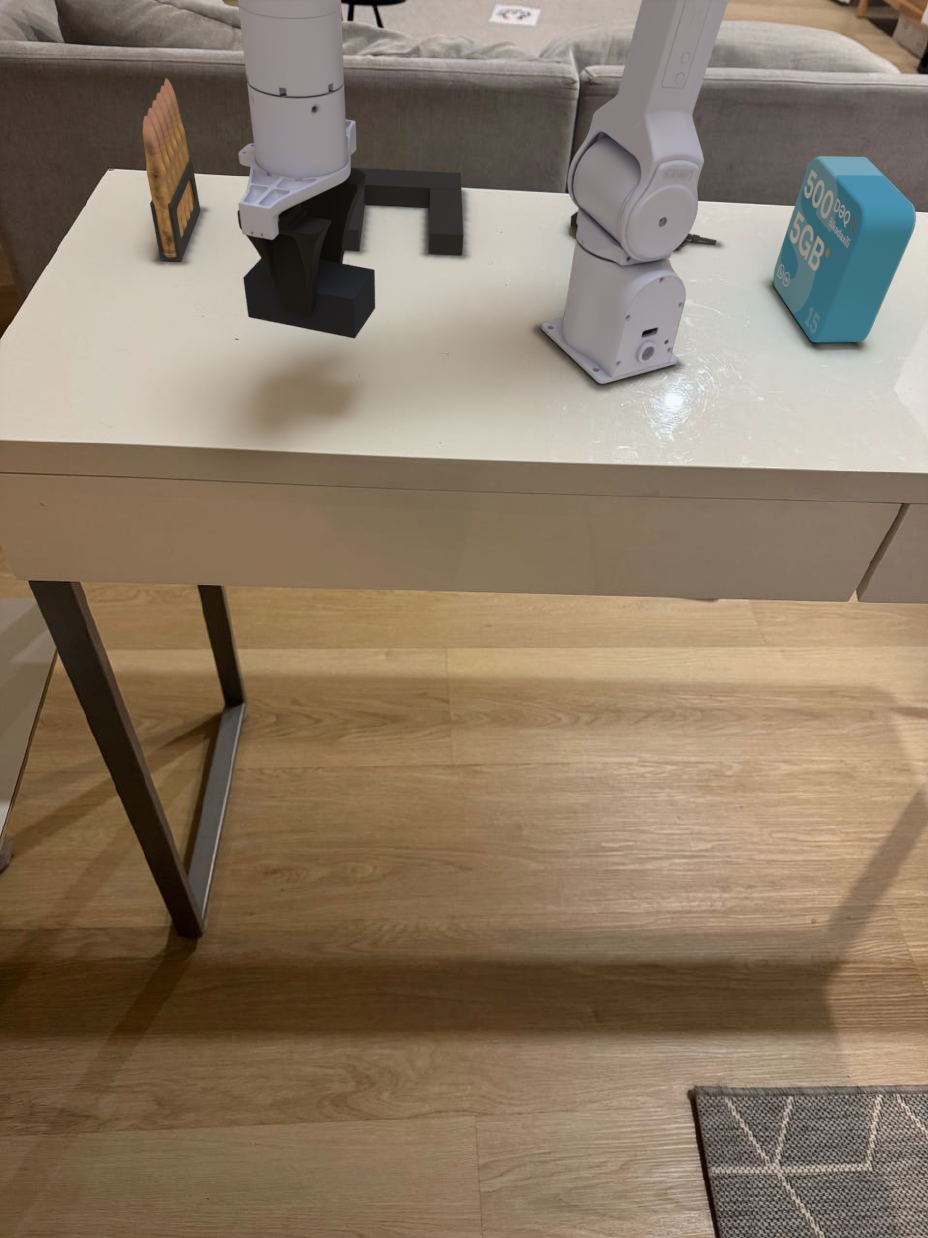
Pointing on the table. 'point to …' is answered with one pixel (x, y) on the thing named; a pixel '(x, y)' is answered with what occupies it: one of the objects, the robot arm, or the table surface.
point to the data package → (842, 248)
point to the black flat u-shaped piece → (415, 204)
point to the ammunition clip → (170, 176)
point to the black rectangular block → (318, 299)
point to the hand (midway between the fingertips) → (311, 294)
